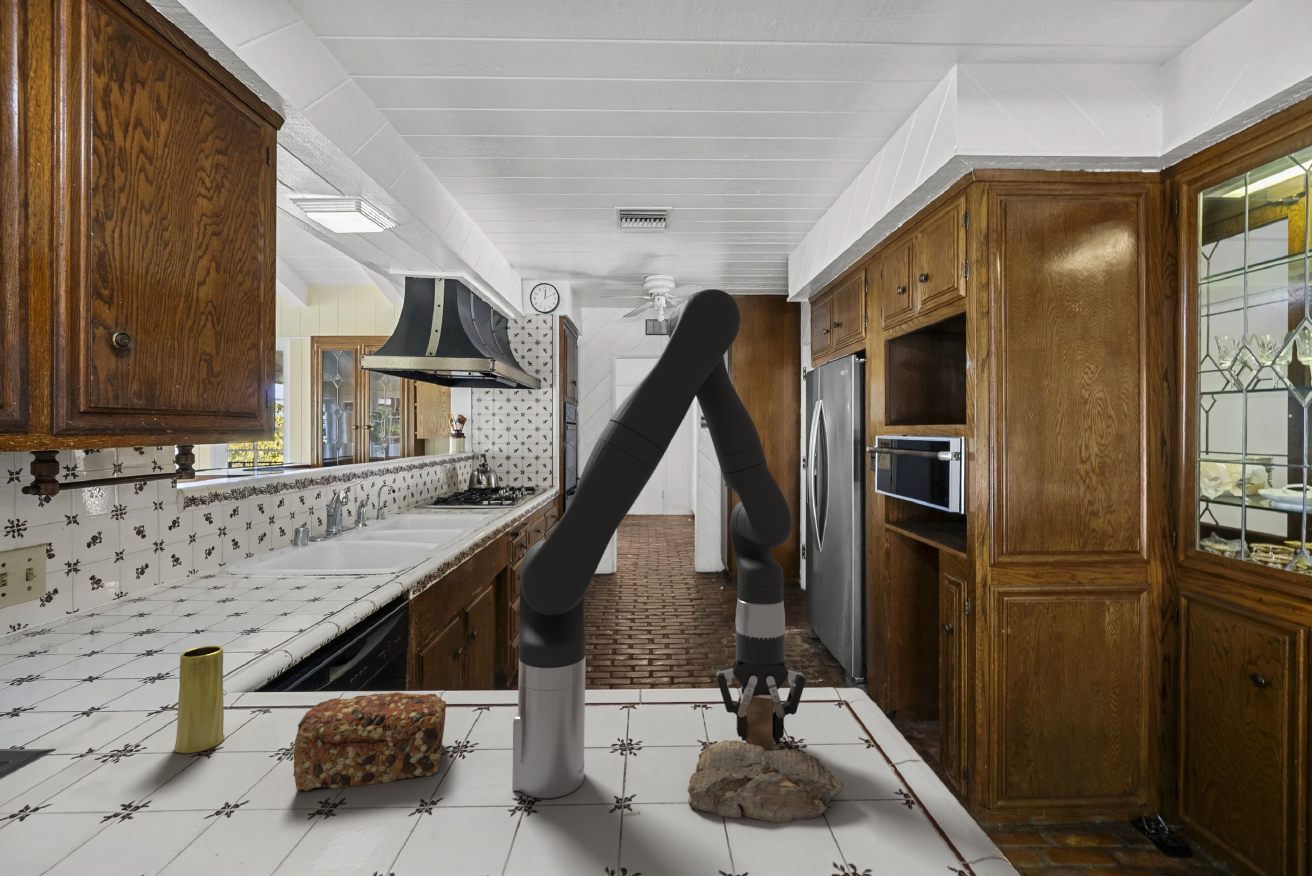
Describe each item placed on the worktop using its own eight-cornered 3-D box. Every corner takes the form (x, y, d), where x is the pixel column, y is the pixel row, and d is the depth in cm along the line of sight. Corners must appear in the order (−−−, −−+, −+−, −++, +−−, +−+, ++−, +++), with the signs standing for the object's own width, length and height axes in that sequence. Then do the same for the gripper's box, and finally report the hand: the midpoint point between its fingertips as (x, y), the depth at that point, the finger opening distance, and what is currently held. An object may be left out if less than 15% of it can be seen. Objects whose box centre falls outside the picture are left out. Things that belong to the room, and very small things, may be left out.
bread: (290, 798, 77) (291, 721, 77) (314, 756, 88) (316, 689, 88) (440, 779, 82) (441, 707, 82) (446, 741, 92) (448, 678, 92)
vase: (175, 758, 86) (177, 661, 86) (173, 742, 91) (175, 650, 91) (226, 745, 90) (228, 652, 90) (222, 730, 95) (224, 641, 95)
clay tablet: (840, 777, 84) (702, 756, 89) (841, 743, 84) (703, 724, 89) (848, 844, 70) (684, 814, 75) (849, 803, 70) (685, 776, 75)
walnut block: (745, 752, 90) (746, 693, 90) (749, 733, 96) (749, 678, 96) (772, 755, 89) (772, 695, 89) (774, 736, 95) (774, 680, 95)
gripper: (715, 634, 87) (714, 750, 87) (812, 636, 87) (812, 752, 87) (712, 619, 95) (712, 726, 95) (802, 621, 94) (801, 728, 94)
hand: (760, 738), depth 91 cm, fingers closed on walnut block, 4 cm apart
